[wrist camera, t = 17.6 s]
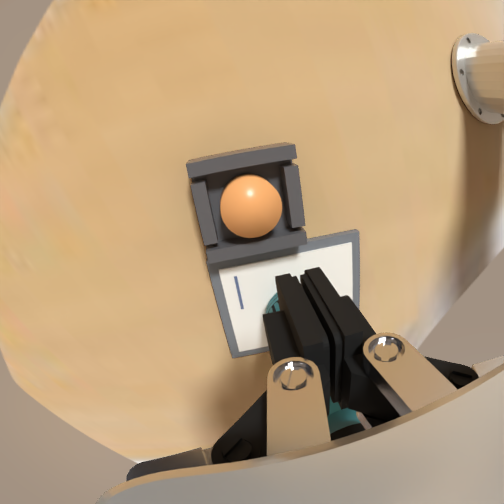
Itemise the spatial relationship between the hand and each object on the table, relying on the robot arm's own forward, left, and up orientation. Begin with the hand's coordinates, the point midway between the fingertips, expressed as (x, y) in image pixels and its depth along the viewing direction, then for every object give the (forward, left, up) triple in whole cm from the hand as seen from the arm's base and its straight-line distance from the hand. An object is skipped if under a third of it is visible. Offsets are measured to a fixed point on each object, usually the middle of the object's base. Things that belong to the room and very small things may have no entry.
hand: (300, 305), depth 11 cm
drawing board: (-3, +12, -19) cm, 23 cm away
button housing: (0, 0, -19) cm, 19 cm away
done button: (0, 0, -17) cm, 17 cm away
